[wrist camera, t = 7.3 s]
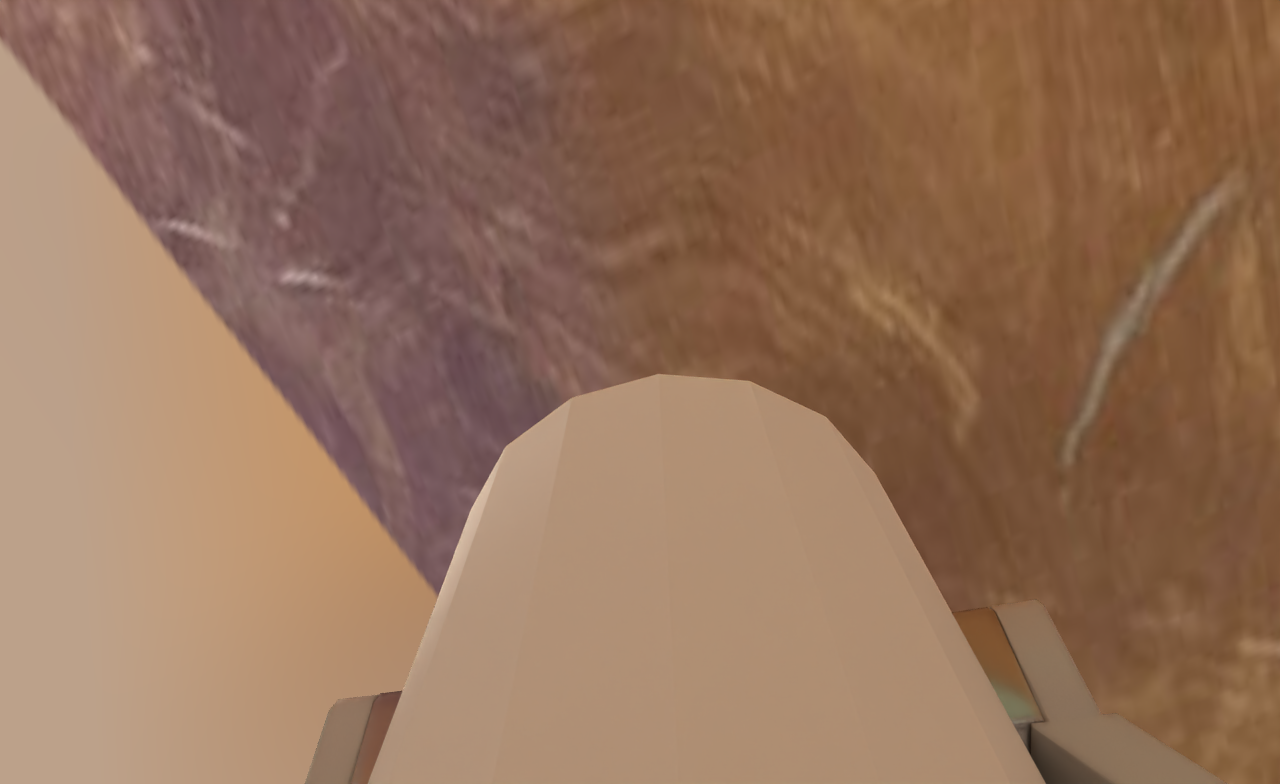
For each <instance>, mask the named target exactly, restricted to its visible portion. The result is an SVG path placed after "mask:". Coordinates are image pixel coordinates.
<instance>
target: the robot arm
mask: <svg viewBox="0 0 1280 784" xmlns="http://www.w3.org/2000/svg"><path fill="white" fill-rule="evenodd" d="M952 614H953V616H954V618H955V620H956V621H957V623H958V625H959V627H960V629H961V630H962V632H963V634H964V636H965V638H966V640H967V641H968V643H969V645H970V647H971V649H972V650H973V652H974V654H975V656H976V658H977V659H978V661H979V663H980V665H981V667H982V669H983V670H984V672H985V674H986V676H987V678H988V679H989V681H990V683H991V685H992V687H993V689H994V690H995V692H996V694H997V696H998V698H999V699H1000V701H1001V703H1002V705H1003V707H1004V708H1005V710H1006V712H1007V714H1008V716H1009V718H1010V719H1011V721H1012V723H1013V725H1014V727H1015V728H1016V730H1017V732H1018V734H1019V736H1020V738H1021V739H1022V741H1023V743H1024V745H1025V747H1026V748H1027V750H1028V752H1029V754H1030V756H1031V757H1032V759H1033V761H1034V763H1035V765H1036V767H1037V768H1038V770H1039V772H1040V774H1041V776H1042V777H1043V779H1044V781H1045V783H1046V784H1227V783H1226V782H1224V781H1223V780H1221V779H1219V778H1218V777H1216V776H1215V775H1213V774H1212V773H1210V772H1208V771H1207V770H1205V769H1204V768H1202V767H1201V766H1199V765H1197V764H1196V763H1194V762H1193V761H1191V760H1190V759H1188V758H1186V757H1185V756H1183V755H1182V754H1180V753H1178V752H1177V751H1175V750H1174V749H1172V748H1171V747H1169V746H1167V745H1166V744H1164V743H1163V742H1161V741H1160V740H1158V739H1156V738H1155V737H1153V736H1152V735H1150V734H1149V733H1147V732H1145V731H1144V730H1142V729H1141V728H1139V727H1138V726H1136V725H1134V724H1133V723H1131V722H1130V721H1128V720H1127V719H1125V718H1123V717H1122V716H1120V715H1119V714H1117V713H1112V714H1103V715H1102V714H1101V712H1100V710H1099V709H1098V707H1097V705H1096V703H1095V701H1094V699H1093V697H1092V695H1091V693H1090V691H1089V690H1088V688H1087V686H1086V684H1085V682H1084V680H1083V678H1082V676H1081V674H1080V672H1079V671H1078V669H1077V667H1076V665H1075V663H1074V661H1073V659H1072V657H1071V655H1070V654H1069V652H1068V650H1067V648H1066V646H1065V644H1064V642H1063V640H1062V638H1061V636H1060V635H1059V633H1058V631H1057V629H1056V627H1055V625H1054V623H1053V621H1052V619H1051V618H1050V616H1049V614H1048V612H1047V610H1046V608H1045V606H1044V605H1043V604H1042V603H1041V602H1039V601H1038V600H1037V599H1035V600H1029V601H1022V602H1016V603H1009V604H1003V605H997V606H991V607H990V608H987V607H984V608H978V609H971V610H965V611H958V612H952ZM401 694H402V691H397V692H389V693H381V694H380V695H372V696H362V697H354V698H345V699H338V700H337V701H336V703H335V704H334V705H333V706H332V707H331V709H330V710H329V712H328V715H327V718H326V721H325V724H324V727H323V730H322V733H321V736H320V739H319V742H318V745H317V748H316V751H315V754H314V757H313V760H312V763H311V766H310V769H309V772H308V776H307V779H306V781H305V784H368V782H369V779H370V776H371V774H372V771H373V768H374V766H375V763H376V760H377V758H378V755H379V752H380V750H381V747H382V745H383V742H384V739H385V737H386V734H387V731H388V729H389V726H390V723H391V721H392V718H393V715H394V713H395V710H396V707H397V705H398V702H399V699H400V697H401Z"/></svg>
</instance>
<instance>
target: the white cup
mask: <svg viewBox="0 0 1280 784" xmlns="http://www.w3.org/2000/svg"><path fill="white" fill-rule="evenodd" d="M368 784H1046V783H1045V781H1044V779H1043V777H1042V776H1041V774H1040V772H1039V770H1038V768H1037V767H1036V765H1035V763H1034V761H1033V759H1032V757H1031V756H1030V754H1029V752H1028V750H1027V748H1026V747H1025V745H1024V743H1023V741H1022V739H1021V738H1020V736H1019V734H1018V732H1017V730H1016V728H1015V727H1014V725H1013V723H1012V721H1011V719H1010V718H1009V716H1008V714H1007V712H1006V710H1005V708H1004V707H1003V705H1002V703H1001V701H1000V699H999V698H998V696H997V694H996V692H995V690H994V689H993V687H992V685H991V683H990V681H989V679H988V678H987V676H986V674H985V672H984V670H983V669H982V667H981V665H980V663H979V661H978V659H977V658H976V656H975V654H974V652H973V650H972V649H971V647H970V645H969V643H968V641H967V640H966V638H965V636H964V634H963V632H962V630H961V629H960V627H959V625H958V623H957V621H956V620H955V618H954V616H953V614H952V612H951V610H950V609H949V607H948V605H947V603H946V601H945V600H944V598H943V596H942V594H941V592H940V591H939V589H938V587H937V585H936V583H935V581H934V580H933V578H932V576H931V574H930V572H929V571H928V569H927V567H926V565H925V563H924V561H923V560H922V558H921V556H920V554H919V552H918V551H917V549H916V547H915V545H914V543H913V542H912V540H911V538H910V536H909V534H908V532H907V531H906V529H905V527H904V525H903V523H902V522H901V520H900V518H899V516H898V514H897V512H896V511H895V509H894V507H893V505H892V503H891V502H890V500H889V498H888V496H887V494H886V493H885V491H884V489H883V487H882V485H881V483H880V482H879V480H878V478H877V476H876V474H875V473H874V472H873V470H872V469H871V468H870V467H869V466H868V465H867V463H866V462H865V461H864V460H863V459H862V458H861V457H860V455H859V454H858V453H857V452H856V451H855V450H854V448H853V447H852V446H851V445H850V444H849V443H848V442H847V440H846V439H845V438H844V437H843V436H842V435H841V433H840V432H839V431H838V430H837V429H836V428H835V427H834V425H833V424H832V423H831V422H830V421H829V420H828V418H827V417H825V416H823V415H821V414H819V413H817V412H815V411H813V410H811V409H808V408H806V407H804V406H802V405H800V404H798V403H796V402H793V401H791V400H789V399H787V398H785V397H783V396H781V395H778V394H776V393H774V392H772V391H770V390H768V389H766V388H763V387H761V386H759V385H757V384H755V383H753V382H751V381H744V380H731V379H717V378H704V377H691V376H678V375H665V374H657V375H653V376H650V377H646V378H642V379H639V380H635V381H631V382H628V383H624V384H620V385H617V386H613V387H609V388H606V389H602V390H598V391H595V392H591V393H587V394H584V395H580V396H576V397H573V398H571V399H569V400H568V401H567V402H565V403H564V404H563V405H561V406H560V407H559V408H557V409H556V410H555V411H553V412H552V413H550V414H549V415H548V416H546V417H545V418H544V419H542V420H541V421H540V422H538V423H537V424H536V425H534V426H533V427H532V428H530V429H529V430H527V431H526V432H525V433H523V434H522V435H521V436H519V437H518V438H517V439H515V440H514V441H513V442H511V443H510V444H508V445H507V446H506V447H505V449H504V451H503V452H502V454H501V456H500V458H499V460H498V461H497V463H496V465H495V467H494V469H493V471H492V472H491V474H490V476H489V478H488V480H487V481H486V483H485V485H484V487H483V489H482V490H481V492H480V494H479V496H478V498H477V500H476V501H475V503H474V505H473V507H472V509H471V511H470V514H469V516H468V519H467V521H466V524H465V527H464V529H463V532H462V535H461V537H460V540H459V543H458V545H457V548H456V551H455V553H454V556H453V559H452V561H451V564H450V567H449V569H448V572H447V575H446V577H445V580H444V583H443V585H442V588H441V591H440V593H439V596H438V598H437V601H436V604H435V606H434V609H433V612H432V614H431V617H430V620H429V622H428V625H427V628H426V630H425V633H424V636H423V638H422V641H421V644H420V646H419V649H418V652H417V654H416V657H415V660H414V662H413V665H412V668H411V670H410V673H409V675H408V678H407V681H406V684H405V686H404V689H403V691H402V694H401V697H400V699H399V702H398V705H397V707H396V710H395V713H394V715H393V718H392V721H391V723H390V726H389V729H388V731H387V734H386V737H385V739H384V742H383V745H382V747H381V750H380V752H379V755H378V758H377V760H376V763H375V766H374V768H373V771H372V774H371V776H370V779H369V782H368Z"/></svg>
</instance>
